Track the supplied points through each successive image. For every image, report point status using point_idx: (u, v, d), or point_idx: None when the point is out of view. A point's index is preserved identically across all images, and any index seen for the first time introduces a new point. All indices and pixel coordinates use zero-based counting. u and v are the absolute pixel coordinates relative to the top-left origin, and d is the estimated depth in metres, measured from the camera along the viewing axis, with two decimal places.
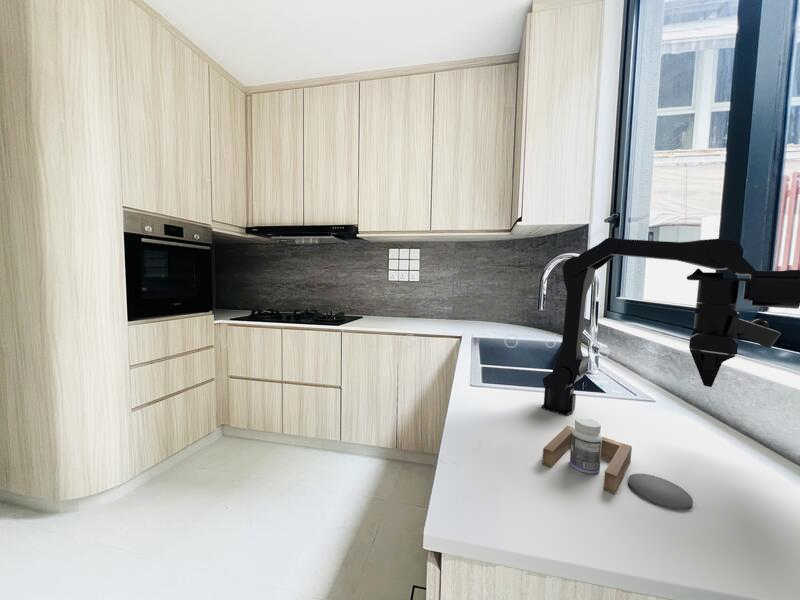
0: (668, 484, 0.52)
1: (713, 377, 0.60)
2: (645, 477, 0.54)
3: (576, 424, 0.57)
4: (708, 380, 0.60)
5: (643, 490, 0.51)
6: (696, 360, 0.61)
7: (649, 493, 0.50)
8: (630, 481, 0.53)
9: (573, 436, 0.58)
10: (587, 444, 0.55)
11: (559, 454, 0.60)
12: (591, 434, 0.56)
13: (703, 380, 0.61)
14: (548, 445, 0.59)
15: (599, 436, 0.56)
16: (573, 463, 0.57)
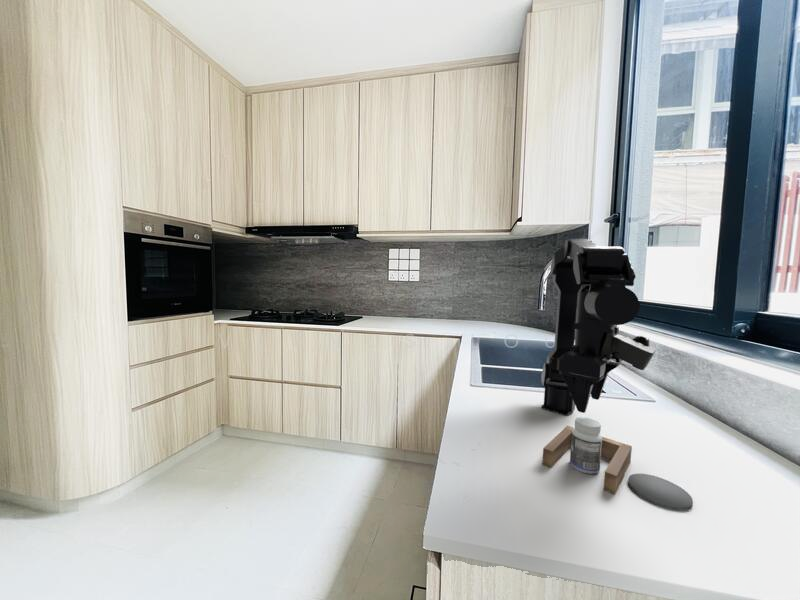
0: (668, 484, 0.52)
1: (585, 402, 0.53)
2: (645, 477, 0.54)
3: (576, 424, 0.57)
4: (581, 405, 0.54)
5: (643, 490, 0.51)
6: (568, 382, 0.54)
7: (649, 493, 0.50)
8: (630, 481, 0.53)
9: (573, 436, 0.58)
10: (587, 444, 0.55)
11: (559, 454, 0.60)
12: (591, 434, 0.56)
13: (576, 405, 0.54)
14: (548, 445, 0.59)
15: (599, 436, 0.56)
16: (573, 463, 0.57)
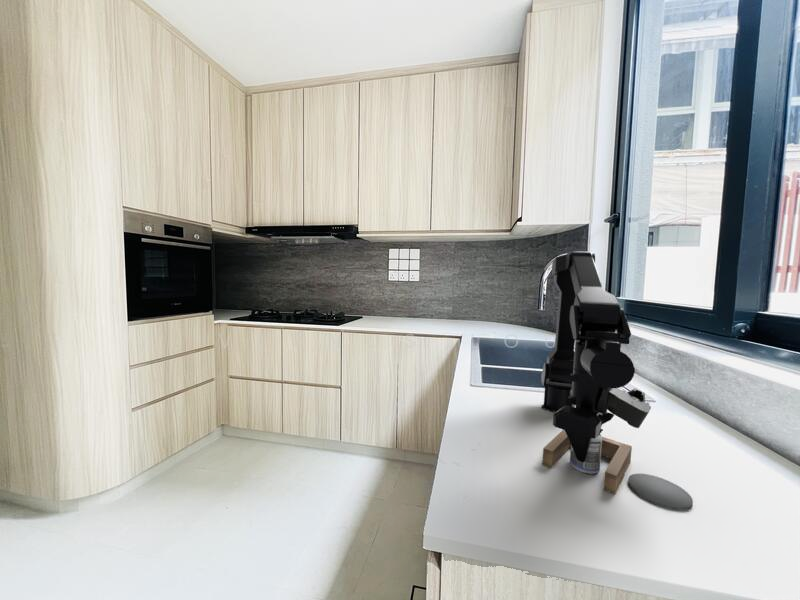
0: (668, 484, 0.52)
1: (584, 452, 0.55)
2: (645, 477, 0.54)
3: None
4: (580, 455, 0.56)
5: (643, 490, 0.51)
6: (568, 433, 0.56)
7: (649, 493, 0.50)
8: (630, 481, 0.53)
9: None
10: None
11: (559, 454, 0.60)
12: None
13: (576, 454, 0.56)
14: (548, 445, 0.59)
15: (599, 436, 0.56)
16: (573, 463, 0.57)
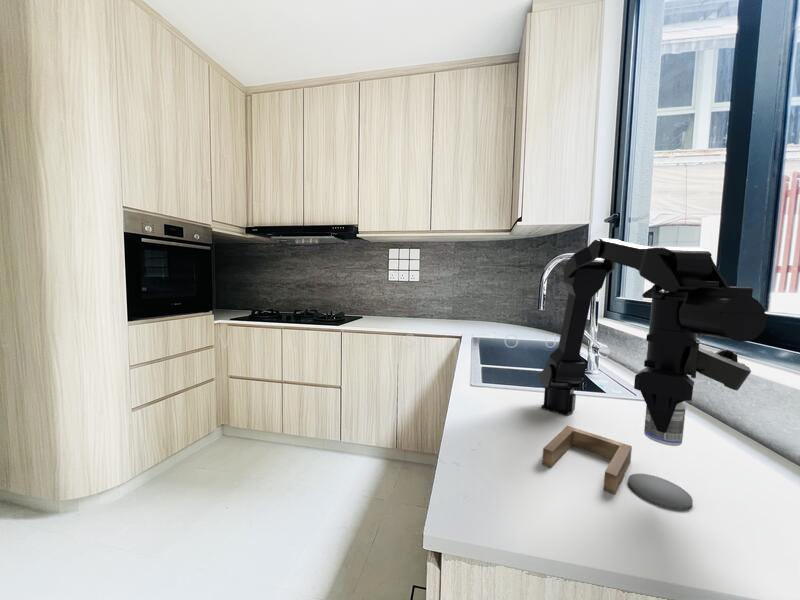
0: (668, 484, 0.52)
1: (667, 421, 0.48)
2: (645, 477, 0.54)
3: None
4: (662, 425, 0.49)
5: (643, 490, 0.51)
6: (647, 399, 0.49)
7: (649, 493, 0.50)
8: (630, 481, 0.53)
9: None
10: None
11: (559, 454, 0.60)
12: None
13: (656, 424, 0.49)
14: (548, 445, 0.59)
15: (682, 403, 0.49)
16: (650, 435, 0.50)
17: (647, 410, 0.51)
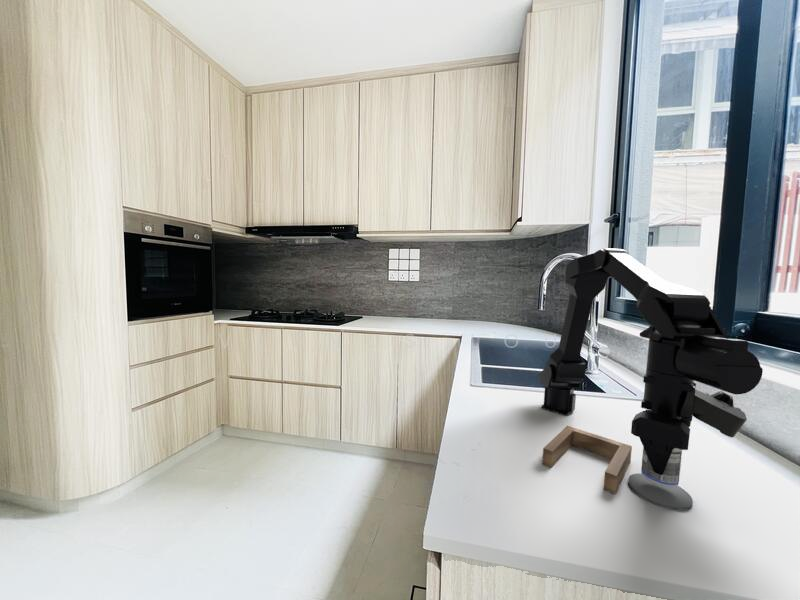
0: None
1: (664, 464, 0.48)
2: None
3: None
4: (658, 467, 0.49)
5: (643, 490, 0.51)
6: (644, 442, 0.49)
7: (649, 493, 0.50)
8: (630, 481, 0.53)
9: None
10: None
11: (559, 454, 0.60)
12: None
13: (653, 466, 0.49)
14: (548, 445, 0.59)
15: None
16: (647, 475, 0.51)
17: (644, 450, 0.52)
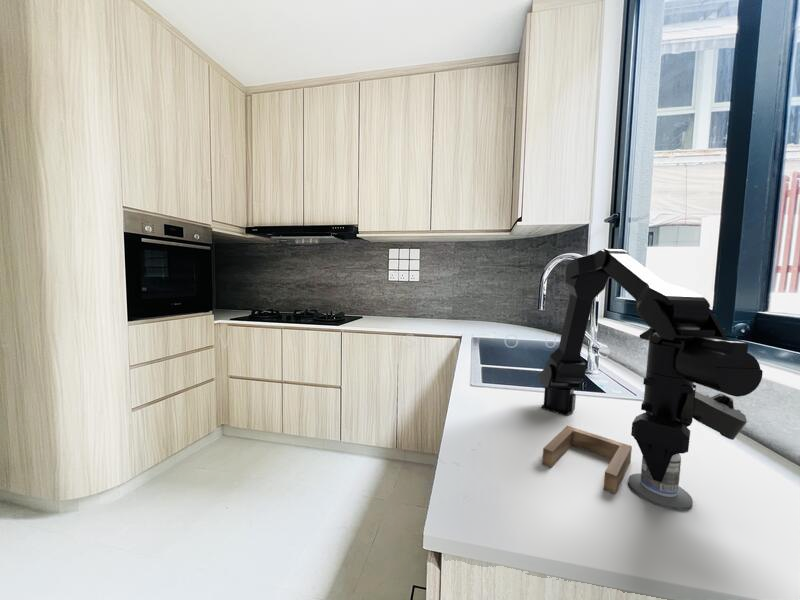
0: None
1: (663, 471, 0.47)
2: None
3: None
4: (657, 474, 0.48)
5: (643, 490, 0.51)
6: (642, 448, 0.48)
7: (649, 493, 0.50)
8: (630, 481, 0.53)
9: None
10: None
11: (559, 454, 0.60)
12: None
13: (651, 473, 0.48)
14: (548, 445, 0.59)
15: (678, 454, 0.49)
16: (646, 484, 0.51)
17: (643, 459, 0.52)
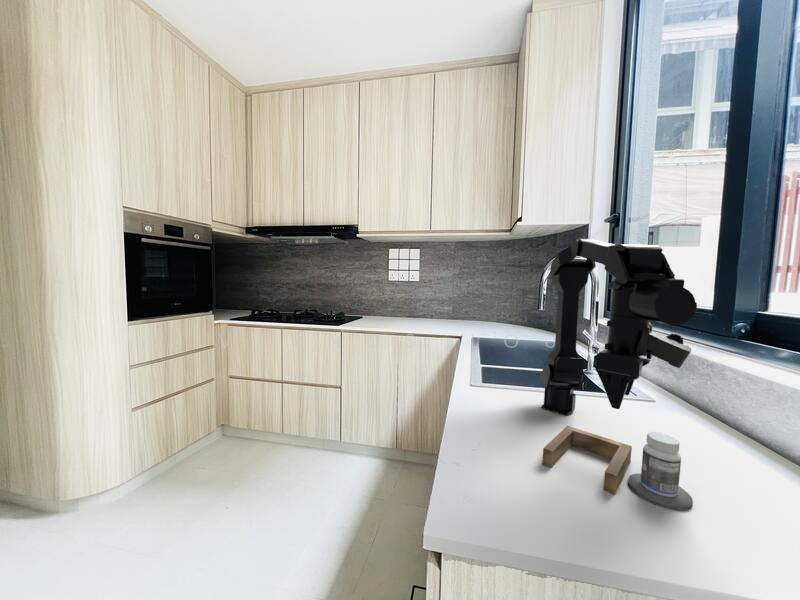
0: None
1: (620, 399, 0.54)
2: None
3: (650, 440, 0.51)
4: (615, 402, 0.54)
5: (643, 490, 0.51)
6: (603, 380, 0.54)
7: (649, 493, 0.50)
8: (630, 481, 0.53)
9: (646, 454, 0.51)
10: (666, 464, 0.49)
11: (559, 454, 0.60)
12: (669, 452, 0.49)
13: (611, 401, 0.55)
14: (548, 445, 0.59)
15: (678, 454, 0.49)
16: (646, 484, 0.51)
17: (643, 459, 0.52)
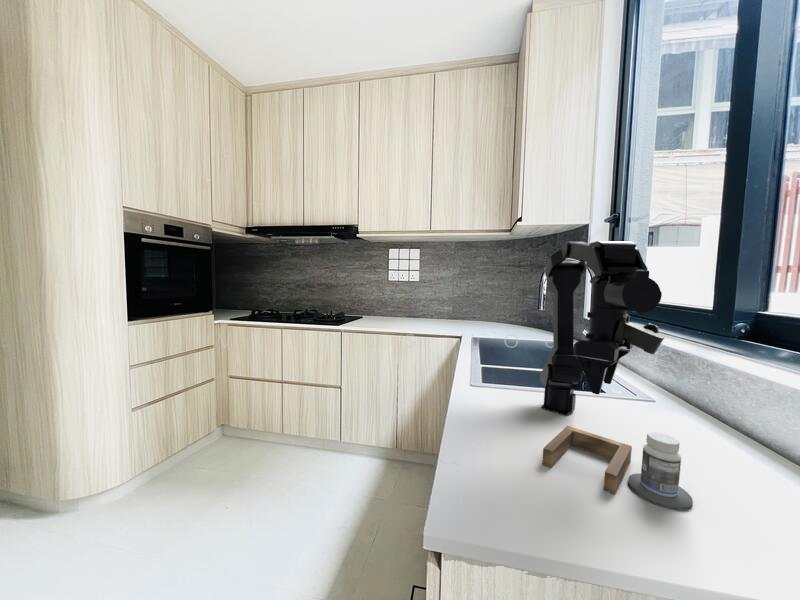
0: None
1: (599, 384, 0.57)
2: None
3: (650, 440, 0.51)
4: (595, 388, 0.58)
5: (643, 490, 0.51)
6: (583, 366, 0.58)
7: (649, 493, 0.50)
8: (630, 481, 0.53)
9: (646, 454, 0.51)
10: (666, 464, 0.49)
11: (559, 454, 0.60)
12: (669, 452, 0.49)
13: (591, 387, 0.58)
14: (548, 445, 0.59)
15: (678, 454, 0.49)
16: (646, 484, 0.51)
17: (643, 459, 0.52)
